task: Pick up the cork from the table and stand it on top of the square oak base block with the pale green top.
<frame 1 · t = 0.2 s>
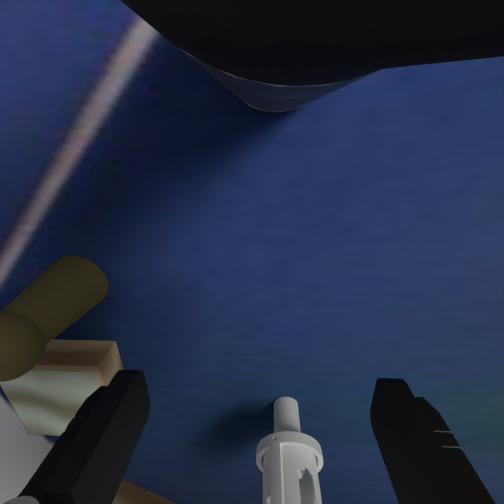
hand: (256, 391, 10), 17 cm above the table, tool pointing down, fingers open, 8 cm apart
cork: (80, 280, 29), on the table
grey mechanical part: (285, 403, 36), on the table
base block: (79, 376, 35), on the table
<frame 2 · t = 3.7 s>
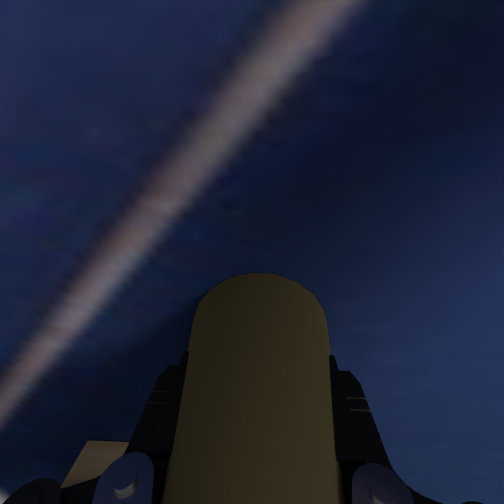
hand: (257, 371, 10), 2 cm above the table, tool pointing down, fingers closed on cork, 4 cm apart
cork: (259, 329, 13), on the table, touching gripper
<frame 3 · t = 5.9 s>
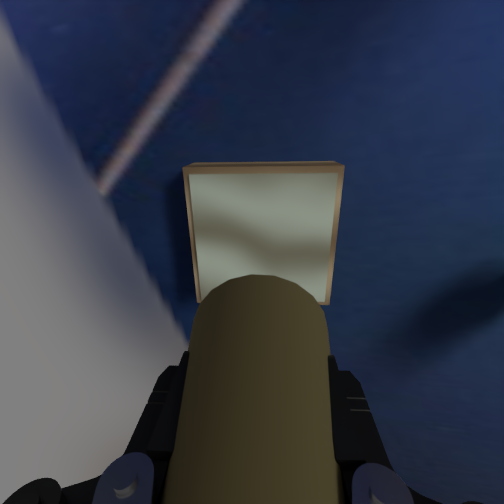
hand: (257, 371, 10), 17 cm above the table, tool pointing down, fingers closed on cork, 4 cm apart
cork: (259, 330, 13), point 15 cm above the table, touching gripper
base block: (263, 228, 26), on the table
when the fingers open (8 cm above the table, at t = 8.4 s): cork drops 1 cm, resting on base block.
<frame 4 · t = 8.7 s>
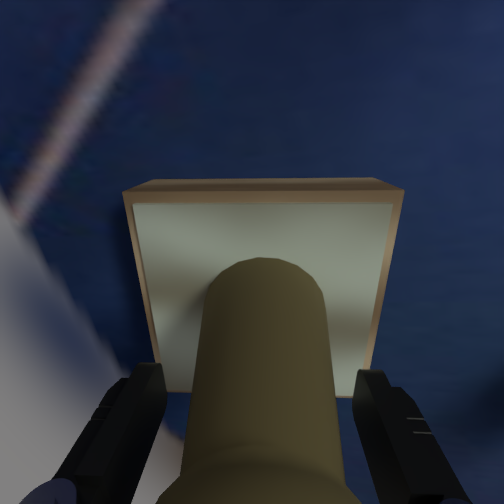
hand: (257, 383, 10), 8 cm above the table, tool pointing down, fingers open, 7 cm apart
cork: (264, 310, 14), point 4 cm above the table, touching base block
base block: (261, 275, 18), on the table
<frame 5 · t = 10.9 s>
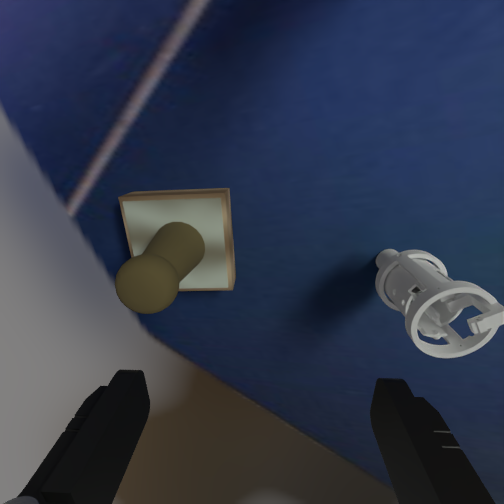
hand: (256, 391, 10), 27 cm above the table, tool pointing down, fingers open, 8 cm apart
cork: (180, 245, 33), point 4 cm above the table, touching base block
grey mechanical part: (387, 259, 36), on the table
base block: (187, 236, 36), on the table
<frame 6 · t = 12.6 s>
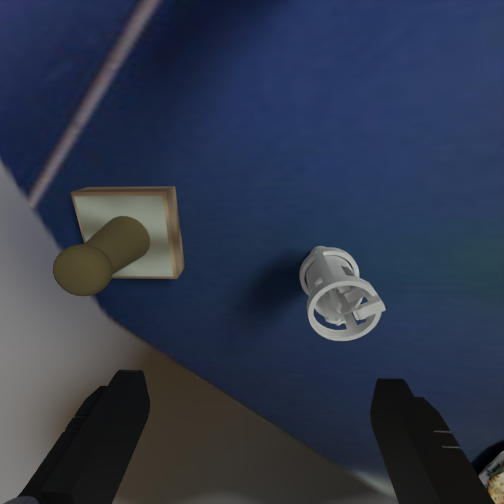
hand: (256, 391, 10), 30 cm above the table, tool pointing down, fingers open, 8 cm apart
cork: (128, 237, 36), point 4 cm above the table, touching base block
grey mechanical part: (319, 255, 40), on the table
base block: (138, 229, 40), on the table
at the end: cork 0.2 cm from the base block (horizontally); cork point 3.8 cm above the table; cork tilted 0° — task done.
